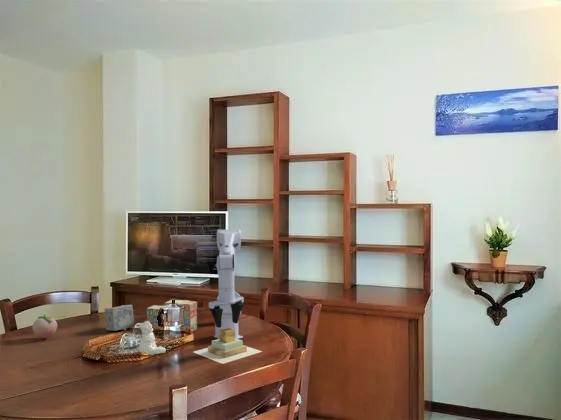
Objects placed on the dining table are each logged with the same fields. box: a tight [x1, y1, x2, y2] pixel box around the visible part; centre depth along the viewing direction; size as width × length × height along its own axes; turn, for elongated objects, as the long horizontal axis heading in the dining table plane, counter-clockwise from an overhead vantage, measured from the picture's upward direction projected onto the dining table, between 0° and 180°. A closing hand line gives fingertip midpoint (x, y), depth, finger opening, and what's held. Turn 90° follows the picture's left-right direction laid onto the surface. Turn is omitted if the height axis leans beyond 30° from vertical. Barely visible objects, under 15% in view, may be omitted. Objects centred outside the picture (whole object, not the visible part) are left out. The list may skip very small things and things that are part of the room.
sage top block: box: [211, 338, 244, 351], centre depth 169 cm, size 8×8×2 cm
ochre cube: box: [218, 328, 235, 343], centre depth 169 cm, size 4×4×4 cm
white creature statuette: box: [137, 320, 166, 356], centre depth 170 cm, size 10×9×12 cm
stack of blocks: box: [146, 299, 198, 332], centre depth 202 cm, size 21×6×12 cm, turn 73°
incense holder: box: [104, 304, 135, 332], centre depth 202 cm, size 10×8×10 cm
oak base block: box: [207, 344, 248, 358], centre depth 169 cm, size 10×10×2 cm
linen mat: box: [193, 346, 263, 365], centre depth 169 cm, size 18×18×1 cm
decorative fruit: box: [31, 314, 58, 339], centre depth 189 cm, size 9×8×10 cm
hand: (227, 324), depth 169 cm, fingers open, 7 cm apart
